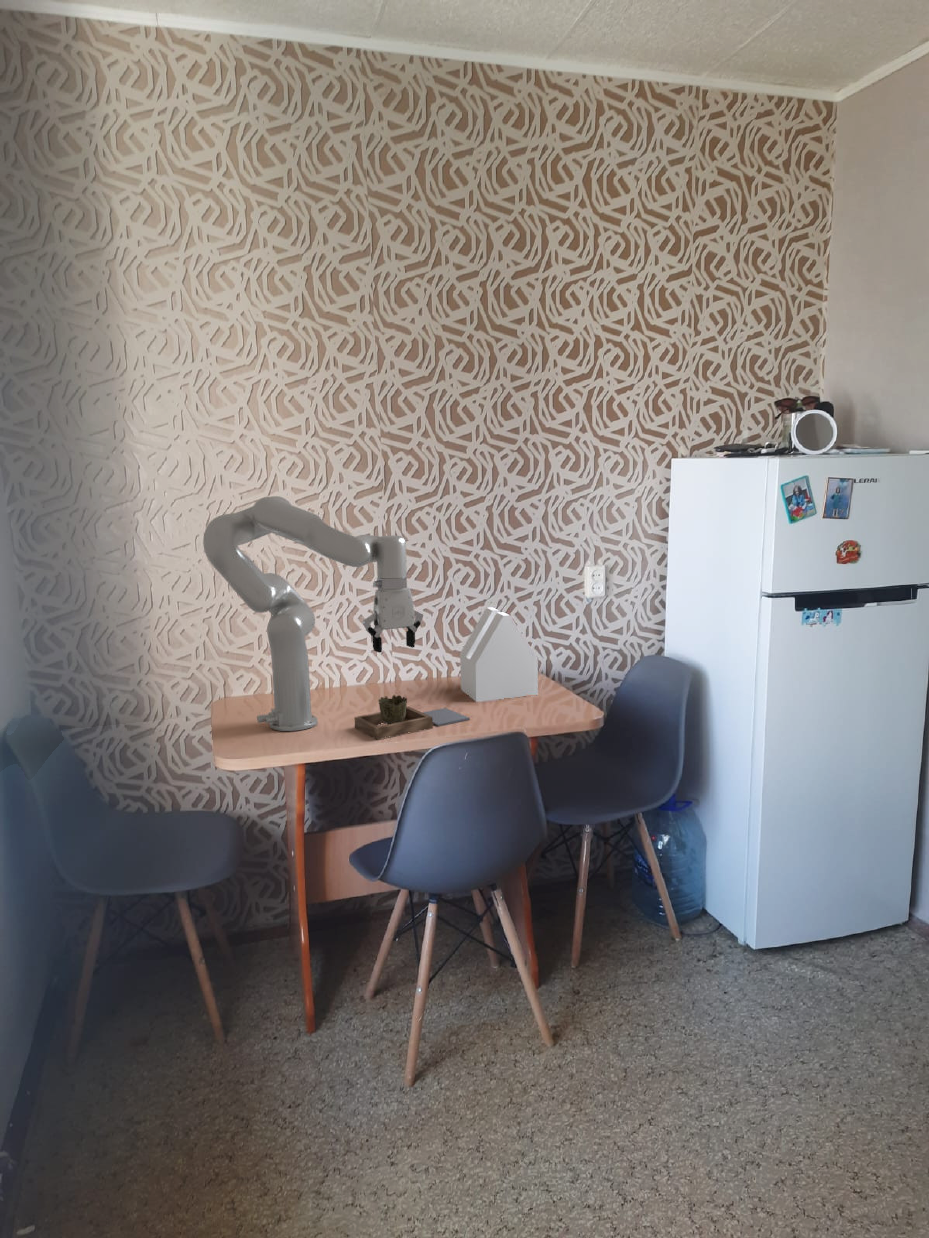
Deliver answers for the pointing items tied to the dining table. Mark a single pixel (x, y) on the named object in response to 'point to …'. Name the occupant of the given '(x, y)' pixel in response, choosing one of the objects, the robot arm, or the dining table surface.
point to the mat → (445, 717)
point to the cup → (393, 709)
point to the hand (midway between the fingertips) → (394, 649)
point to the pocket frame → (412, 725)
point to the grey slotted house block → (497, 660)
